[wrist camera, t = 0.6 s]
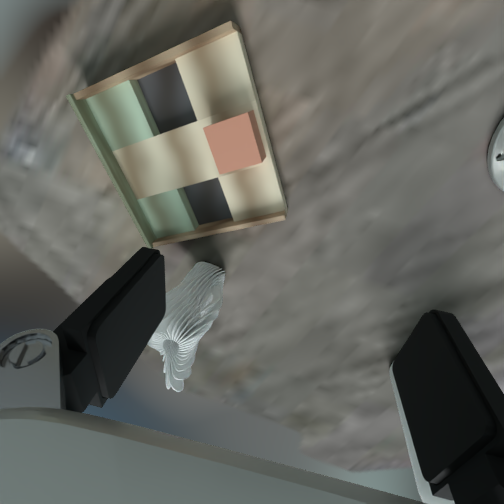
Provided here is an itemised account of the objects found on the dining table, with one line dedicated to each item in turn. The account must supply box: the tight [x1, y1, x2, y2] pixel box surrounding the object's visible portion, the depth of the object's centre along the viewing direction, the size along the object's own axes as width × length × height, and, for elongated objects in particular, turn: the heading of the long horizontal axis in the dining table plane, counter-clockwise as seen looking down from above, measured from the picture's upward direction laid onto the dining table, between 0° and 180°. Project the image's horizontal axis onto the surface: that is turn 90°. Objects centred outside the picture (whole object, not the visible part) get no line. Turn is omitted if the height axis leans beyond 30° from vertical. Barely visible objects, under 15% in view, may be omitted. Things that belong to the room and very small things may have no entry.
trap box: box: [66, 21, 288, 249], centre depth 34 cm, size 20×20×4 cm
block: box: [203, 110, 266, 175], centre depth 31 cm, size 5×5×3 cm
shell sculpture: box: [147, 262, 226, 392], centre depth 38 cm, size 8×8×18 cm
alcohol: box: [389, 361, 455, 504], centre depth 34 cm, size 9×9×30 cm
